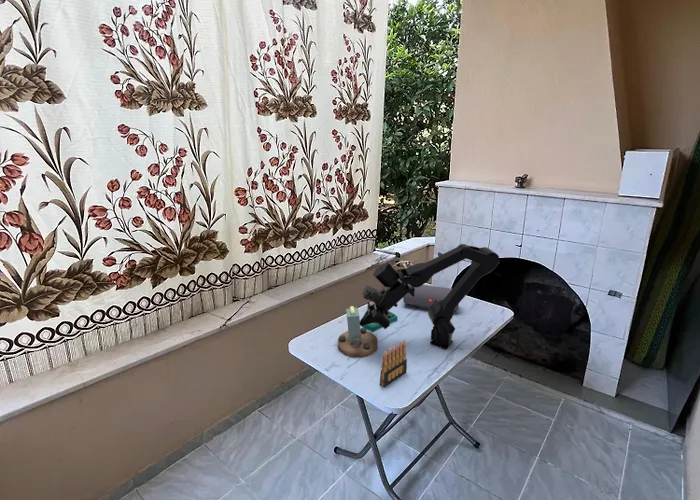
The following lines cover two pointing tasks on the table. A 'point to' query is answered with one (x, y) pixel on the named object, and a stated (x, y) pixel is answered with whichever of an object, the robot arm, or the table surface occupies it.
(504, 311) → the table surface
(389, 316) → the digital multimeter
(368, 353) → the levelling base
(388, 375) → the ammunition clip
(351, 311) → the post
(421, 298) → the bluetooth speaker
